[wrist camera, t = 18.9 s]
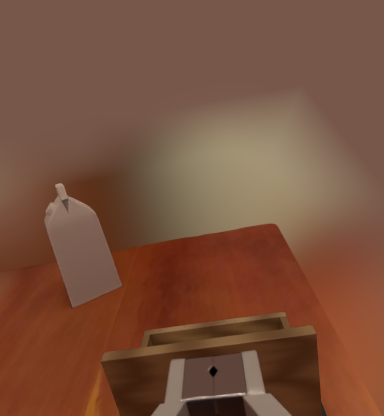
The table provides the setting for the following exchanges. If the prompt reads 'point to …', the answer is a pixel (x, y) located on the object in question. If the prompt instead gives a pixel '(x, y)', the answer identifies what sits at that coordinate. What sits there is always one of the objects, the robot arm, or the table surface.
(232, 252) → the table surface
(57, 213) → the milk
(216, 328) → the drawer
